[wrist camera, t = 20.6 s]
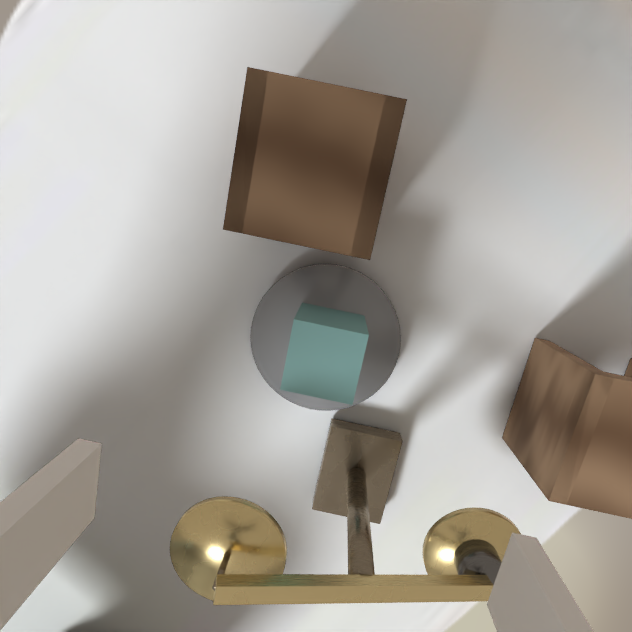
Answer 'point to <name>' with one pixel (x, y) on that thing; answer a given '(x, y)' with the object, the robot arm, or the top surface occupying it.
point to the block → (325, 353)
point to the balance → (360, 509)
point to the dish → (336, 293)
